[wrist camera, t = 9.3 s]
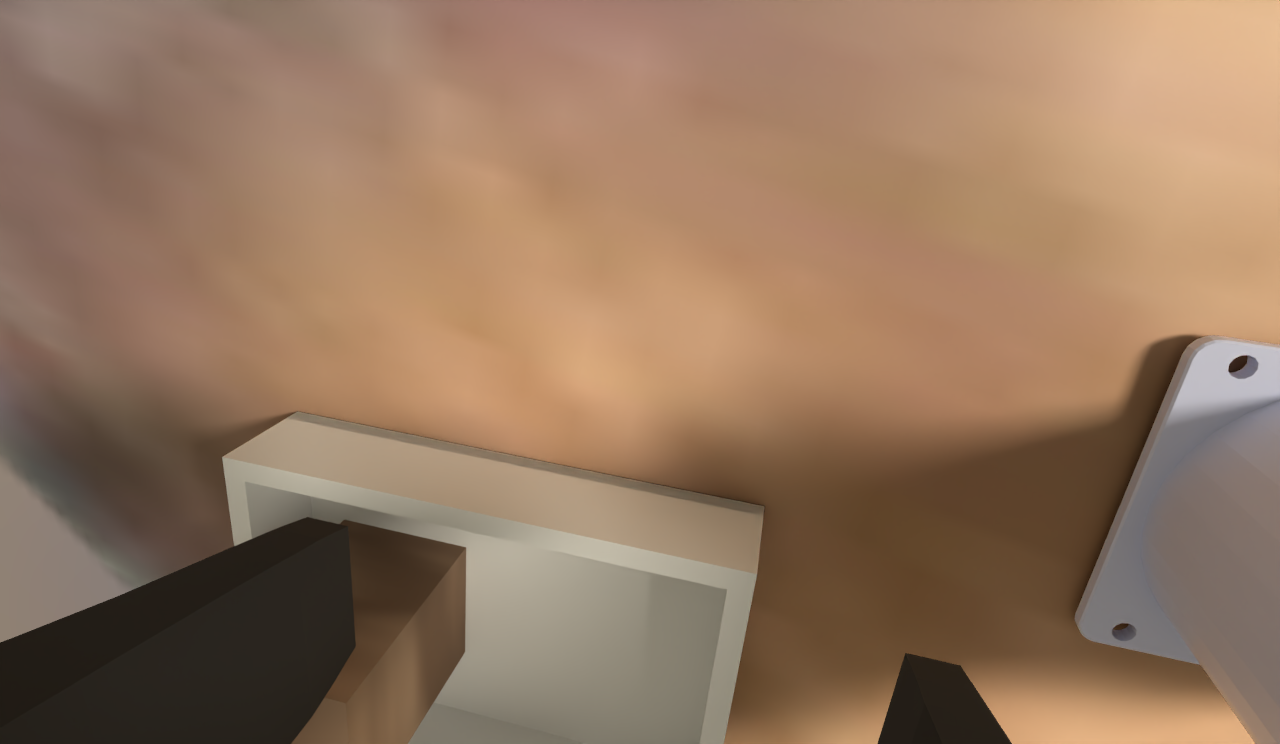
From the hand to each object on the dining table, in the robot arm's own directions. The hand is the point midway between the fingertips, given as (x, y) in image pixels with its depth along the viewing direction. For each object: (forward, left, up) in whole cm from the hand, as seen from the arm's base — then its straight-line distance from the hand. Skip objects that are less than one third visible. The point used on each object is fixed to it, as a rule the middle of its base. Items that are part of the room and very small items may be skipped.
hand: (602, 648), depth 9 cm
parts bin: (+5, +9, -10) cm, 14 cm away
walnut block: (+8, +9, -9) cm, 15 cm away
